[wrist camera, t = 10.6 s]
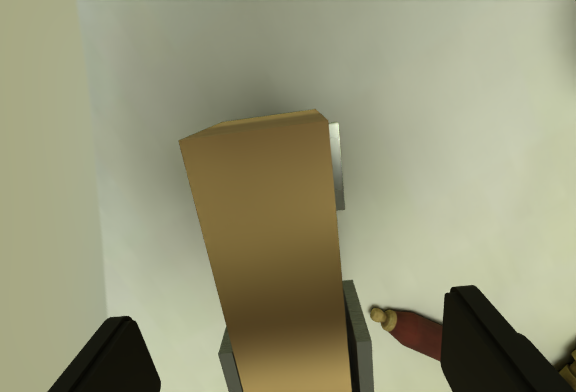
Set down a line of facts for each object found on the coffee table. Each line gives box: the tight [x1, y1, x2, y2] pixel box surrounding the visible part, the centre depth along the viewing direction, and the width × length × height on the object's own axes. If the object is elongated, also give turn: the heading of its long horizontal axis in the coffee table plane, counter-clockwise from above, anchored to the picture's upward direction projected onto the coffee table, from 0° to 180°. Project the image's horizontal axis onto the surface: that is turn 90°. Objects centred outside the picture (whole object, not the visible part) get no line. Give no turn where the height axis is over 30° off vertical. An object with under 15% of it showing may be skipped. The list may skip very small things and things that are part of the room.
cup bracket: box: [218, 280, 374, 392], centre depth 17 cm, size 5×6×10 cm
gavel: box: [370, 308, 576, 391], centre depth 23 cm, size 21×5×10 cm
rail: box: [179, 109, 352, 392], centre depth 12 cm, size 12×4×5 cm, turn 8°
